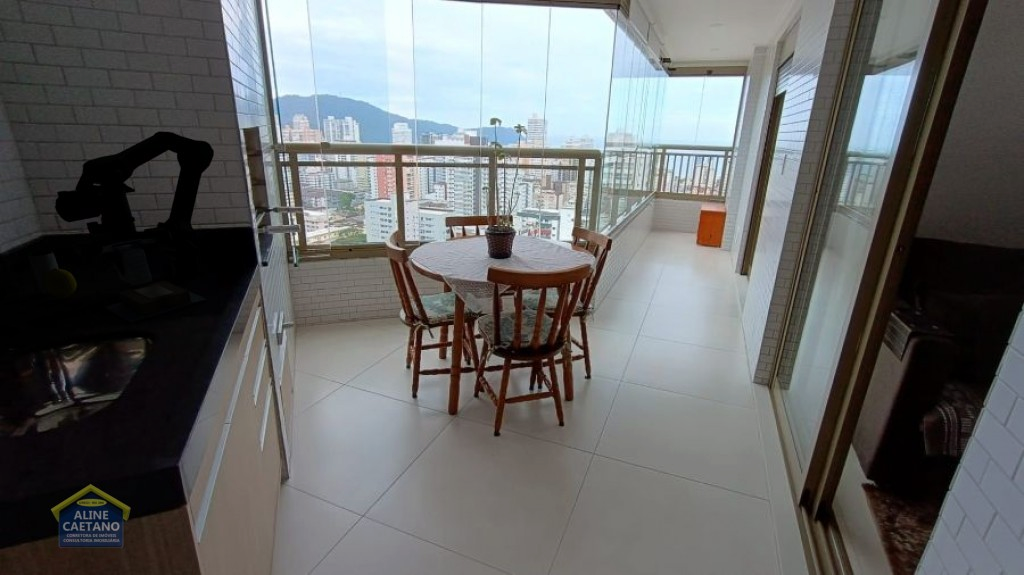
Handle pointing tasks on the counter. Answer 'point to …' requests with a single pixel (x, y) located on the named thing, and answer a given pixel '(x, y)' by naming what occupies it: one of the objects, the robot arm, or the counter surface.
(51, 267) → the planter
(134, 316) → the blueprint mat
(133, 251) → the medicine box
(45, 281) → the lemon
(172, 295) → the plinth
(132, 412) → the counter surface
